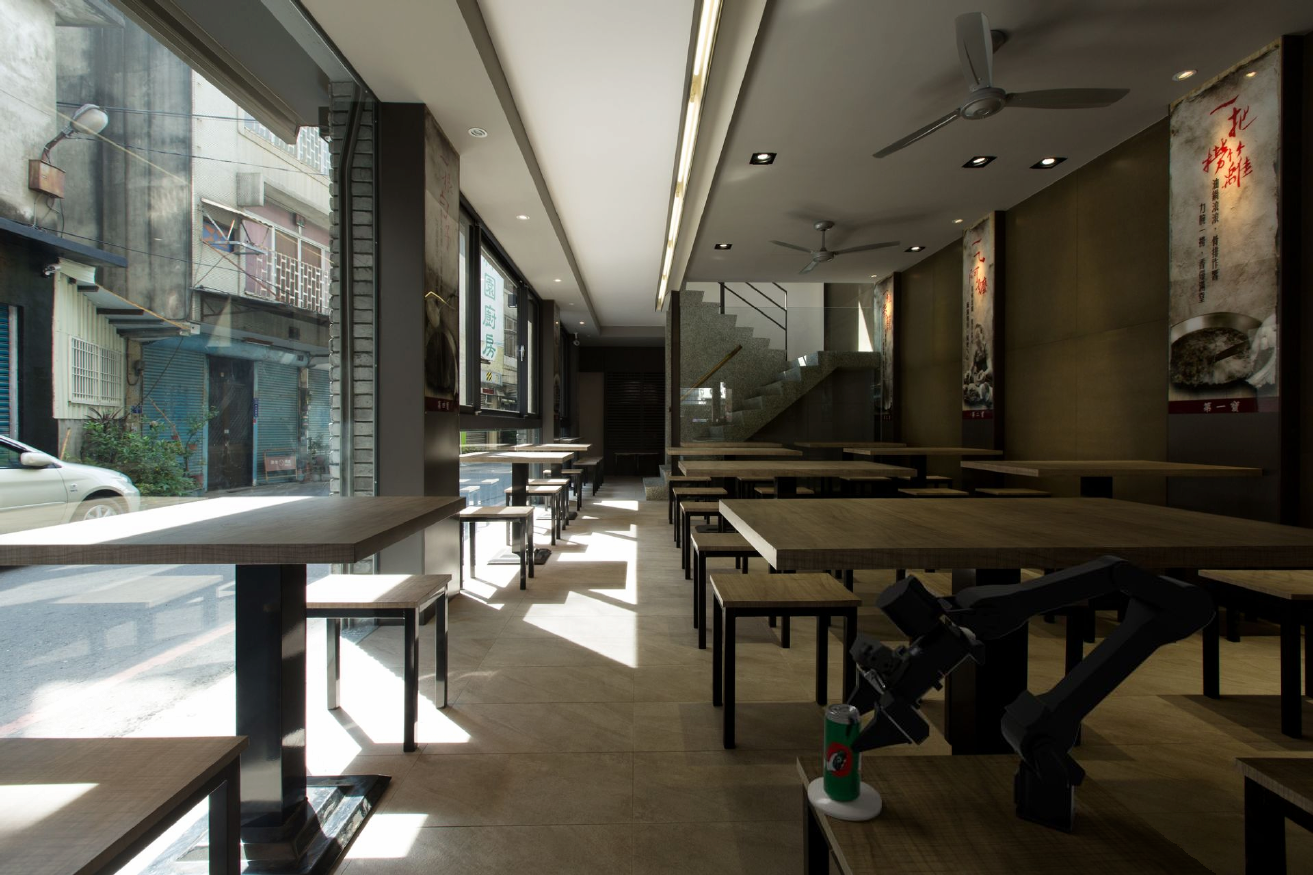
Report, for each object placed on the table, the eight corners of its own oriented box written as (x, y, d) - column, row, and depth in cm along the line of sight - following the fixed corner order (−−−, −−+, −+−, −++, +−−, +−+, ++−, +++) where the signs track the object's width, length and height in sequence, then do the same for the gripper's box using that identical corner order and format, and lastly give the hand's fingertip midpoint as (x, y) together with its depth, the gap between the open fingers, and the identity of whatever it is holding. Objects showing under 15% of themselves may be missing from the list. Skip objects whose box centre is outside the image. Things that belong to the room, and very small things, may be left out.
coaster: (891, 797, 94) (891, 791, 94) (867, 830, 86) (867, 824, 86) (824, 774, 100) (824, 768, 100) (796, 803, 92) (796, 797, 92)
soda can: (866, 802, 91) (868, 716, 91) (832, 805, 90) (834, 718, 90) (850, 783, 96) (851, 701, 96) (817, 786, 95) (818, 703, 95)
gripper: (872, 600, 102) (798, 668, 103) (904, 638, 83) (814, 720, 85) (924, 654, 101) (849, 722, 102) (969, 704, 83) (876, 786, 84)
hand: (846, 734), depth 93 cm, fingers open, 9 cm apart
